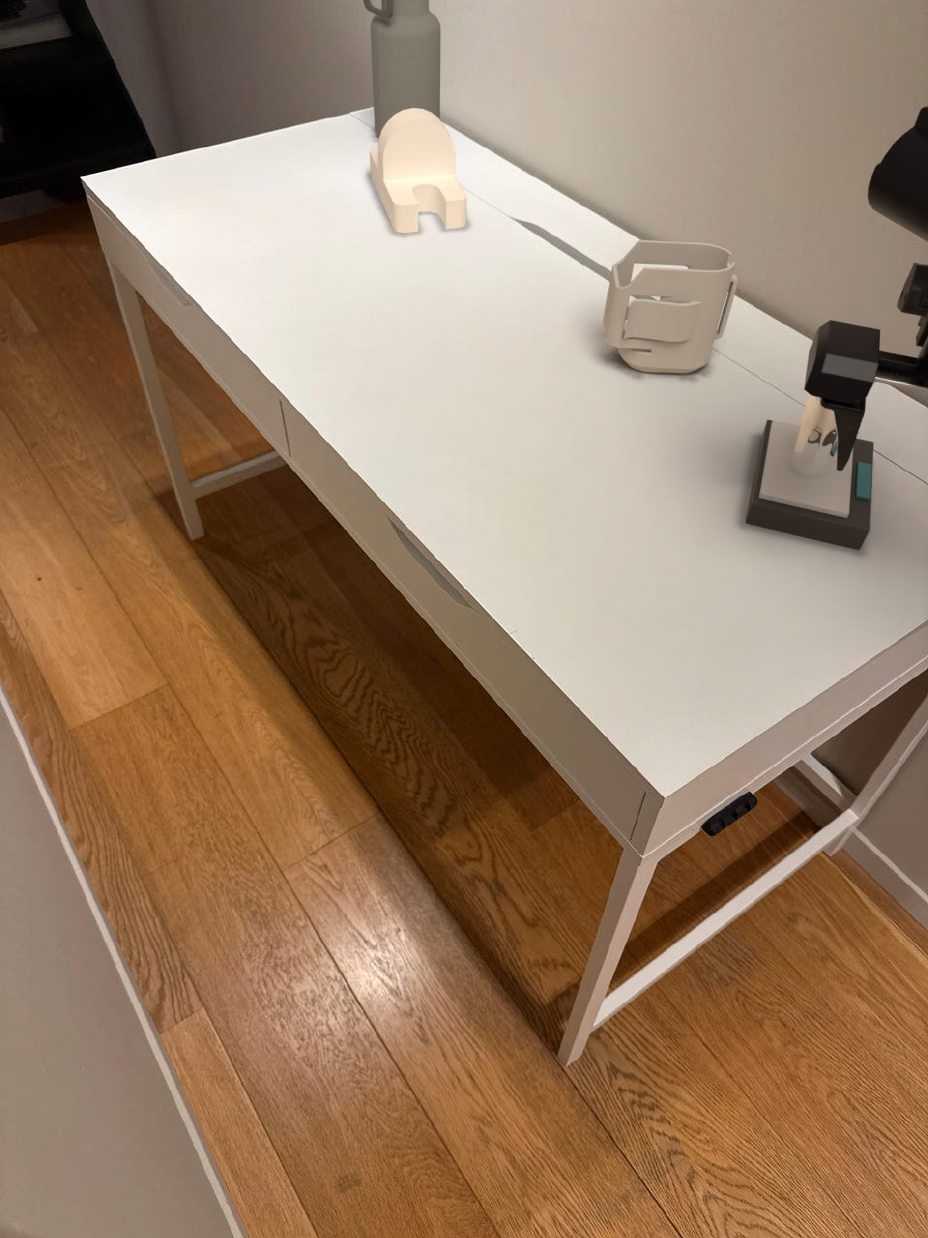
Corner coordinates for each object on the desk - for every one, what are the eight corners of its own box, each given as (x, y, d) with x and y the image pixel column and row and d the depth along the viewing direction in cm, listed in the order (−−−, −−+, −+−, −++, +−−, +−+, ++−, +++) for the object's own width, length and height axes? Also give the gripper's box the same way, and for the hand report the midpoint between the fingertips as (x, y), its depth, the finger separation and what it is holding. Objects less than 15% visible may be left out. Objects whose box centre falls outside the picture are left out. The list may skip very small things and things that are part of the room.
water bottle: (398, 153, 129) (392, -87, 108) (360, 131, 134) (347, -103, 113) (452, 137, 134) (457, -97, 112) (413, 116, 138) (411, -112, 117)
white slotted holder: (435, 168, 126) (436, 85, 118) (467, 227, 115) (471, 139, 107) (369, 174, 124) (365, 89, 116) (395, 233, 113) (393, 144, 105)
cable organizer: (598, 343, 98) (615, 237, 89) (709, 349, 98) (738, 243, 89) (601, 378, 94) (620, 271, 84) (719, 384, 94) (750, 277, 84)
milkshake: (848, 482, 79) (892, 387, 71) (788, 481, 79) (827, 386, 71) (833, 450, 82) (875, 355, 74) (776, 449, 82) (812, 354, 74)
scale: (864, 461, 86) (876, 436, 84) (859, 550, 78) (872, 525, 75) (760, 438, 88) (769, 413, 85) (745, 523, 79) (754, 498, 77)
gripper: (1152, 251, 57) (1028, 445, 69) (854, 201, 60) (784, 394, 72) (1187, 340, 50) (1041, 539, 62) (847, 278, 53) (771, 478, 65)
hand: (903, 481), depth 65 cm, fingers open, 9 cm apart
